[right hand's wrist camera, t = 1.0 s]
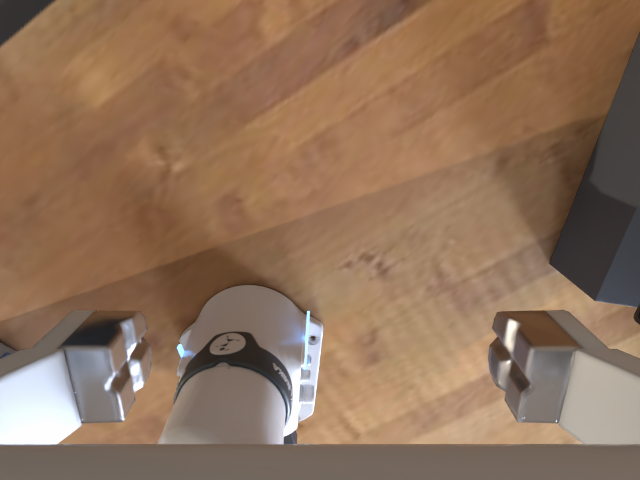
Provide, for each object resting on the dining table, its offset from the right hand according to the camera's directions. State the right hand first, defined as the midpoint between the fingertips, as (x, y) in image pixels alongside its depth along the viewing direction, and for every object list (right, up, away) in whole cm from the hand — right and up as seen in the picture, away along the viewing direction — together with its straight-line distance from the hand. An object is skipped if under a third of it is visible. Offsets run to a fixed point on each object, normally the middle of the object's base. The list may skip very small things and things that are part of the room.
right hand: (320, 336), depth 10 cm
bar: (+33, +11, +39) cm, 52 cm away
